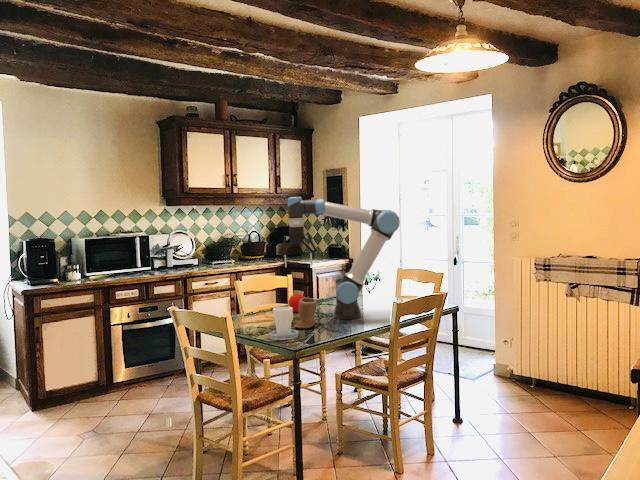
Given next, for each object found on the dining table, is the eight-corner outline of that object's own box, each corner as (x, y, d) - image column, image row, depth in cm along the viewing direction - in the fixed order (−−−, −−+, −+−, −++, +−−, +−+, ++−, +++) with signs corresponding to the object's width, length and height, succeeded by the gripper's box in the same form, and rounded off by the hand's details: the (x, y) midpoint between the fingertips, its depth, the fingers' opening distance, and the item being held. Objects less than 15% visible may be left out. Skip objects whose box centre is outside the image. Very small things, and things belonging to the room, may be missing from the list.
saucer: (298, 332, 282) (298, 328, 282) (297, 339, 268) (297, 335, 268) (270, 333, 282) (270, 329, 282) (268, 340, 268) (267, 336, 268)
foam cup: (290, 337, 269) (289, 310, 268) (271, 337, 271) (270, 310, 270) (295, 332, 278) (294, 306, 277) (277, 332, 280) (276, 306, 279)
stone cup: (314, 330, 286) (313, 300, 285) (291, 329, 289) (290, 300, 288) (322, 323, 300) (320, 295, 299) (300, 323, 304) (299, 295, 303)
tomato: (308, 309, 339) (307, 292, 339) (305, 313, 329) (305, 295, 328) (290, 310, 340) (289, 292, 340) (287, 313, 330) (287, 295, 329)
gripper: (272, 228, 294) (275, 268, 295) (320, 225, 295) (322, 265, 297) (272, 227, 301) (275, 267, 303) (319, 224, 302) (322, 264, 304)
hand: (298, 266), depth 300 cm, fingers open, 13 cm apart
